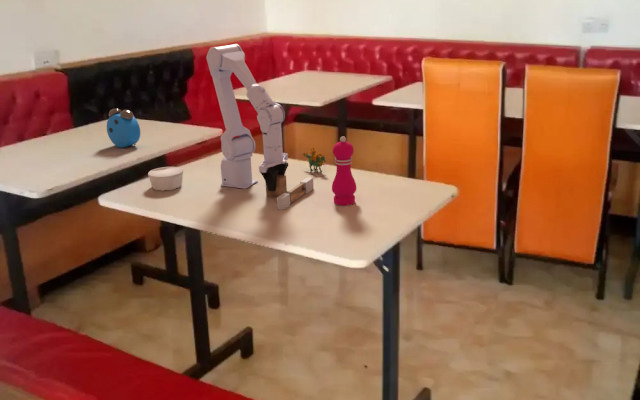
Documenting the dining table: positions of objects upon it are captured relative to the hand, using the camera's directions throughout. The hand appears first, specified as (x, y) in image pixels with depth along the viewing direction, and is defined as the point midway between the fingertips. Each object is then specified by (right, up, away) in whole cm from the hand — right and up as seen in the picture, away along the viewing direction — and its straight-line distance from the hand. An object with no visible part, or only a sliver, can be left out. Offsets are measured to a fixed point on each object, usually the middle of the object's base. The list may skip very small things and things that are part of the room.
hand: (275, 188), depth 207 cm
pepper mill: (+21, -4, -7) cm, 22 cm away
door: (+7, -3, -3) cm, 8 cm away
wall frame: (+7, -3, -2) cm, 8 cm away
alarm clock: (-64, +18, +61) cm, 90 cm away
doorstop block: (0, -2, +1) cm, 2 cm away
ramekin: (-36, +1, +13) cm, 38 cm away
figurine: (+12, +6, +23) cm, 27 cm away
